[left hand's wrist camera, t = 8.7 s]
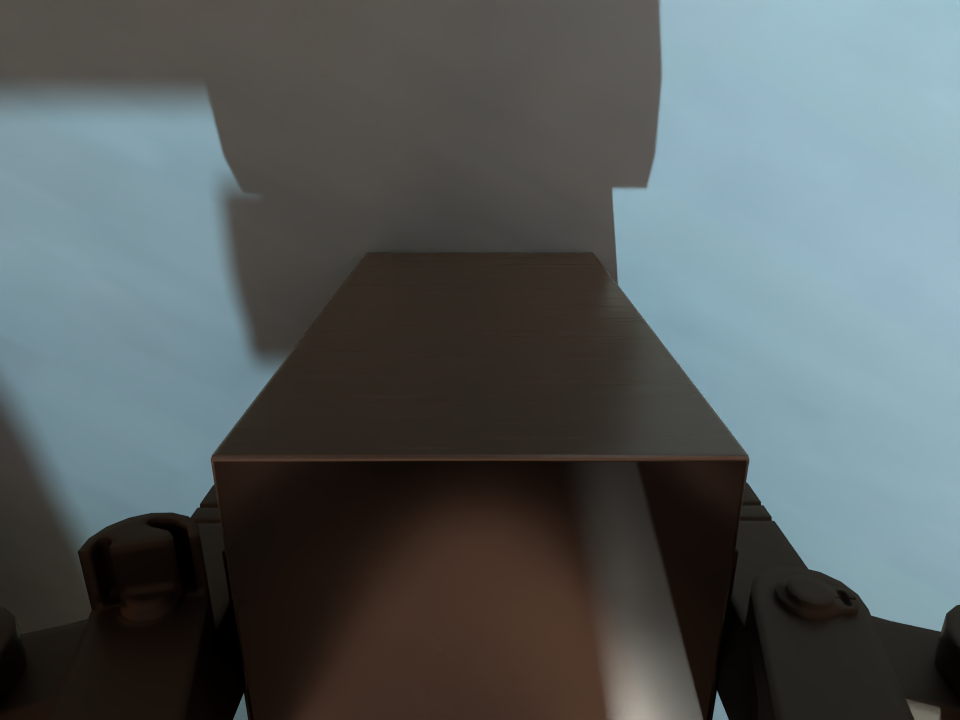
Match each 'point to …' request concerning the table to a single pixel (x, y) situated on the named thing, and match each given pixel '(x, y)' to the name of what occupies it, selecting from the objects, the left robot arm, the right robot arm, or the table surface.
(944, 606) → the table surface
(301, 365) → the bar
